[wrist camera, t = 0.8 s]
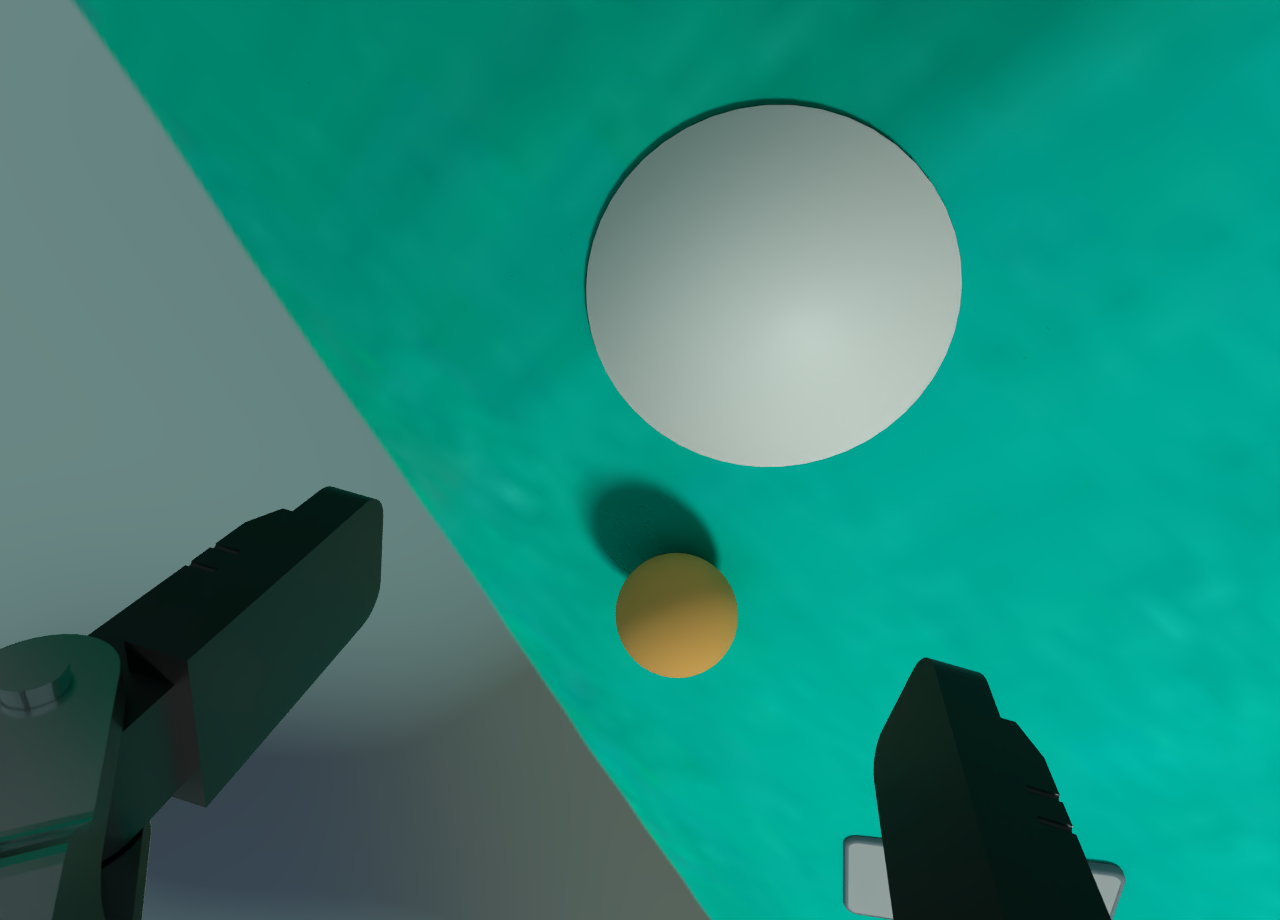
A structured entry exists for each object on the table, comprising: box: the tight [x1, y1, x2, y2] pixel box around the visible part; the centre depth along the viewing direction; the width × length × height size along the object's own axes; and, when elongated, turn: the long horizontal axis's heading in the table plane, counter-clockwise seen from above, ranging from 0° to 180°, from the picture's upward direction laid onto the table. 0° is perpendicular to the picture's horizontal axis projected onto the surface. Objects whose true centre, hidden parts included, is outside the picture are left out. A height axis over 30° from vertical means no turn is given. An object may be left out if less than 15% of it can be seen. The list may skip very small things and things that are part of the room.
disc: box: [586, 105, 962, 467], centre depth 27 cm, size 14×14×1 cm
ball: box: [616, 553, 738, 678], centre depth 32 cm, size 6×6×6 cm
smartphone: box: [844, 836, 1125, 920], centre depth 42 cm, size 8×1×15 cm
